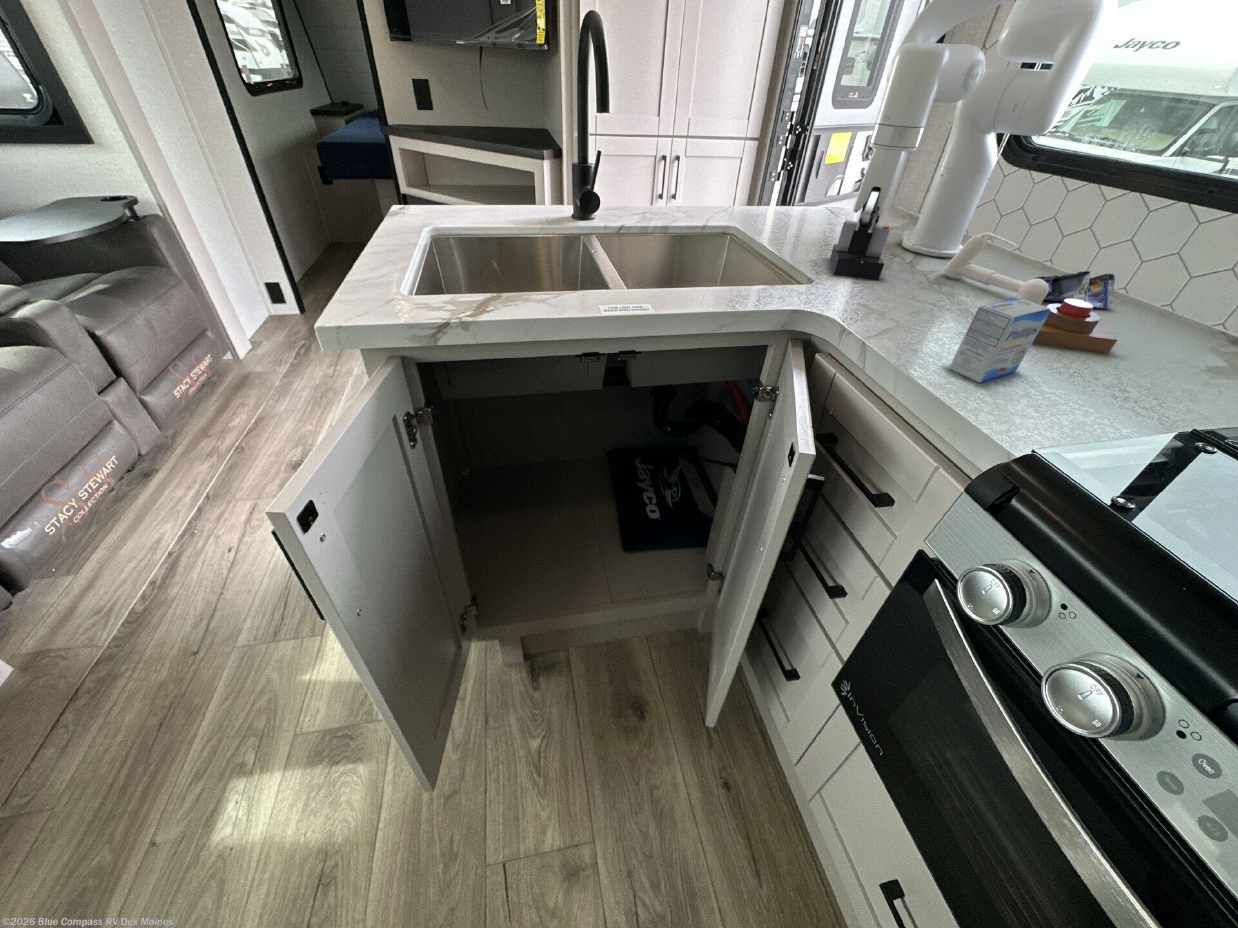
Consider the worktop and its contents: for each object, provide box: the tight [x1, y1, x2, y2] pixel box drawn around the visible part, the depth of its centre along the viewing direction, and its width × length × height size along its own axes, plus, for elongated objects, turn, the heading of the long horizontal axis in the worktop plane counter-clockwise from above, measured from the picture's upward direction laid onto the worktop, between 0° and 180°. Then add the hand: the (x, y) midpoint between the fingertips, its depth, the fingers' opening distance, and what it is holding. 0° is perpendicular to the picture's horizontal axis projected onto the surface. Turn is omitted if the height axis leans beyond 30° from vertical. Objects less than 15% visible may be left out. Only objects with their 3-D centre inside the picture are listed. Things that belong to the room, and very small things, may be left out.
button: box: [1058, 299, 1094, 318], centre depth 74 cm, size 4×4×2 cm
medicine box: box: [948, 298, 1051, 384], centre depth 64 cm, size 8×4×9 cm, turn 117°
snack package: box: [1034, 270, 1116, 310], centre depth 89 cm, size 12×6×12 cm
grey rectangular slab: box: [836, 219, 892, 258], centre depth 95 cm, size 8×2×5 cm, turn 61°
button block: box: [1031, 303, 1118, 355], centre depth 75 cm, size 8×10×4 cm
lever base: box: [824, 243, 893, 281], centre depth 98 cm, size 12×12×3 cm
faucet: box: [943, 232, 1049, 305], centre depth 90 cm, size 4×18×10 cm, turn 25°
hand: (859, 249), depth 96 cm, fingers open, 6 cm apart
